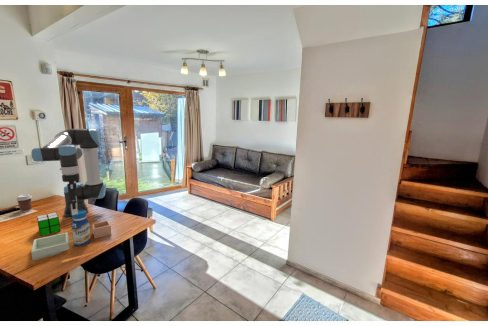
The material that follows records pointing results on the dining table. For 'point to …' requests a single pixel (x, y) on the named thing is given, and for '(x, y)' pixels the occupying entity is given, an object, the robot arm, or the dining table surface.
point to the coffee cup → (24, 202)
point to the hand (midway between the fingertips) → (74, 210)
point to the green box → (50, 246)
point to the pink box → (101, 229)
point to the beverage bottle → (81, 229)
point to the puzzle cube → (48, 224)
